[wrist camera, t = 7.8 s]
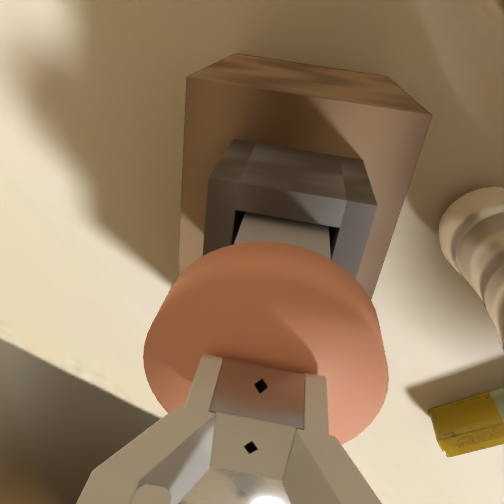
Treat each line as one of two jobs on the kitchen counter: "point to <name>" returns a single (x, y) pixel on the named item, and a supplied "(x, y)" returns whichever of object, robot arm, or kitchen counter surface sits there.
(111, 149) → the kitchen counter surface
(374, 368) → the orange ball
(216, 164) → the stand
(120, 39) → the kitchen counter surface
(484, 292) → the plastic bottle
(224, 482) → the grey plunger
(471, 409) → the medication box
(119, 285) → the kitchen counter surface
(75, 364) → the kitchen counter surface
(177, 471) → the robot arm
